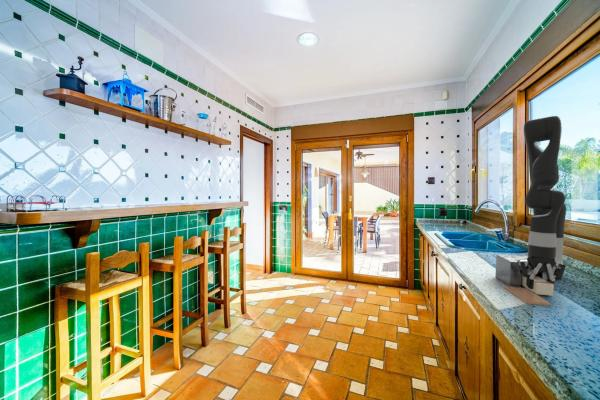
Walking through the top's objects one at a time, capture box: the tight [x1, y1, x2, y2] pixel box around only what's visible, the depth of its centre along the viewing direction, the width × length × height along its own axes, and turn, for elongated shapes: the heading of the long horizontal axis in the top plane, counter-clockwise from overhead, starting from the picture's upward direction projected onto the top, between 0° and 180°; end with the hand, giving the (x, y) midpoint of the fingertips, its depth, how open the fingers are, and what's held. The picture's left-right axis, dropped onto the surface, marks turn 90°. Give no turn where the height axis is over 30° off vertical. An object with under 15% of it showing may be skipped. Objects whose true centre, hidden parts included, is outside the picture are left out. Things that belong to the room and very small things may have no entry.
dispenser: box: [495, 253, 555, 288], centre depth 106 cm, size 13×14×10 cm
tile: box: [504, 285, 552, 307], centre depth 94 cm, size 14×7×1 cm, turn 165°
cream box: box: [520, 275, 555, 296], centre depth 99 cm, size 12×5×4 cm, turn 167°
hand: (539, 289), depth 96 cm, fingers closed on cream box, 5 cm apart
